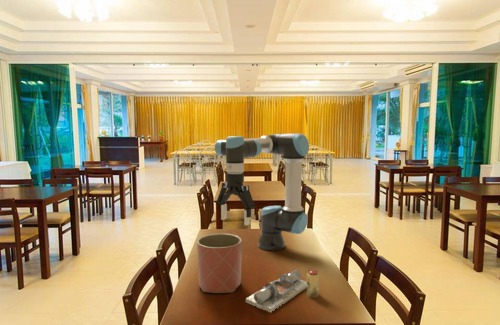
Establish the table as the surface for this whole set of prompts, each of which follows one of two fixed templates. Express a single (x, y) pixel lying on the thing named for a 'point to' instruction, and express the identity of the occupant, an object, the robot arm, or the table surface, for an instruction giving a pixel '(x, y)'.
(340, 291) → the table surface
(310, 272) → the brass cylinder
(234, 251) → the planter
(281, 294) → the pipeline
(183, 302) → the table surface
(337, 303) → the table surface
